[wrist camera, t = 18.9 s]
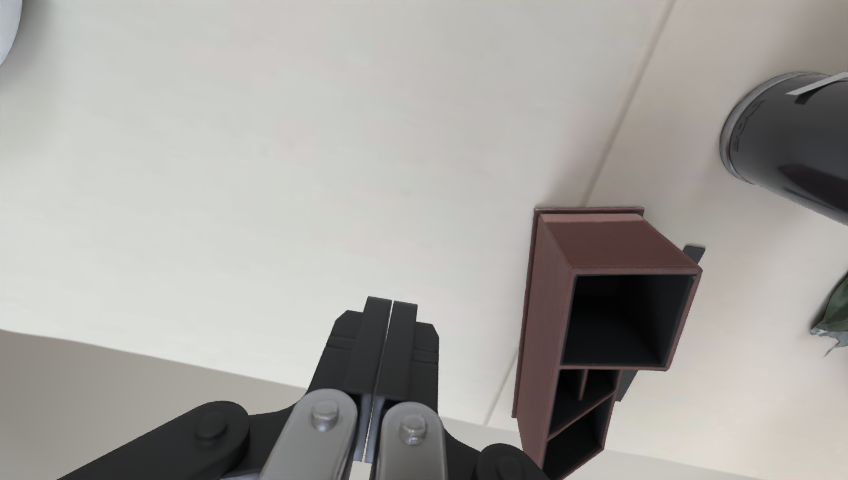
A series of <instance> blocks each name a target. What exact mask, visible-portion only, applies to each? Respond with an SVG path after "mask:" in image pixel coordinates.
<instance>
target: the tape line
mask: <svg viewBox="0 0 848 480" xmlns="http://www.w3.org/2000/svg"><path fill="white" fill-rule="evenodd" d="M682 252H684V253H685V254H686V255H687V256H688V257H689V258H691V259H692V260H693V261H694V262H695V263H696V264H698V262H699V261H700V259H701V257H702V255H703V254H704V252H705V249H703V248H697V247H692V246H685V248H684V250H683V251H682ZM637 372H638V370H623V373H622V377H621V380H620V384H619V388H618V391H617V395H616V399H615V401H619V402H621V400H622V398H623V397H624V395H625V393H626V391H627V389H628V388H629V386H630V384H631V382H632V380H633V379H634V377H635V375H636V373H637Z"/></svg>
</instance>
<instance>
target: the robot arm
mask: <svg viewBox="0 0 848 480" xmlns="http://www.w3.org/2000/svg"><path fill="white" fill-rule="evenodd" d="M847 76H848V72H846V71H845V72H842V73H839V74H837V75H834V76H830V75H825V74H820V73H809V72H796V73H789V74H785V75H781V76H778V77H776V78H773V79H771V80H769V81H767V82H765V83H763V84H762V85H760V86H758V87H757V88H756V89H754V90H753V91H752V92H750V93H749V94H748V95H747V96H746V97H745V98H744V99H743V100H742V101H741V102H740V103H739V104H738V105H737V106H736V108H735V109H734V110H733V112H732V113H731V115H730V116H729V118H728V120H727V122H726V124H725V126H724V129H723V132H722V136H721V142H720V152H721V157H722V160H723V163H724V165H725V166H726V168H727V169H728V171H729V172H730V173H731V174H733V175H734V176H735V177H737V178H739V179H741V180H743V181H746V182H748V183H750V184H754V185H758V186H760V187H762V188H764V189H767V190H769V191H771V192H773V193H775V194H777V195H779V196H782V197H784V198H786V199H788V200H790V201H793V202H795V203H797V204H799V205H802V206H804V207H806V208H808V209H811V210H813V211H815V212H817V213H820V214H822V215H824V216H826V217H828V218H831V219H833V220H835V221H837V222H840V223H842V224H844V225H846V226H848V77H847ZM391 305H392V300H389V299H383V298H377V297H371V296H368V298H367V301H366V304H365V308H364V311H363V313H362V312H356V311H350V310H347V311H346V312H344V313H343V314H342V315H341V316H340V317H339V318H338V319H336V321H335V323H334V326H333V328H332V331H331V334H330V336H329V338H328V341H327V343H326V347H325V348H324V351H323V353H322V356H321V358H320V361H319V363H318V366H317V368H316V371H315V373H314V376H313V378H312V381H311V383H310V386H309V388H308V390H307V392H306V393H305V395H304V396H303V397H302V398H301V399H300V400H299V401H298V402H296V403H295V404H293V405H292V406H290V407H288V408H286V409H283V410H280V411H277V412H271V413H264V414H256V415H248V413H247V412H246V410H245V409H244V408H243V407H242V406H240V405H239V404H236V403H234V402H230V401H215V402H209V403H206V404H203V405H201V406H198V407H196V408H194V409H192V410H190V411H189V412H187V413H185V414H183V415H181V416H179V417H177V418H175V419H173V420H171V421H169V422H167V423H165V424H164V425H162V426H160V427H158V428H156V429H154V430H152V431H150V432H148V433H146V434H144V435H142V436H140V437H138V438H137V439H135V440H133V441H131V442H129V443H127V444H125V445H123V446H121V447H119V448H117V449H115V450H113V451H112V452H109V453H107V454H106V455H104V456H102V457H100V458H98V459H96V460H94V461H92V462H90V463H88V464H86V465H84V466H82V467H80V468H79V469H77V470H75V471H73V472H71V473H69V474H67V475H65V476H63V477H61V478H59V479H57V480H349V476H350V472H351V467H352V463H353V461H360V462H361V461H362V458H363V453H364V448H365V443H366V438H367V433H368V428H369V423H370V418H371V413H372V418H371V423H370V430H369V436H368V442H367V449H366V455H365V463H371V464H372V466H371V472H370V478H369V480H550V479H549V478H548V477H547V476H546V474H545V473H544V472H543V471H542V470H541V469H540V468H539V467H538V466H537V464H536V463H535V462H534V461H533V460H532V459H531V458H530V457H529V456H528V455H527V454H526V453H524V452H523V451H522V450H520V449H518V448H516V447H514V446H512V445H508V444H503V443H498V444H492V445H489V446H487V447H486V448H484V449H483V450H482V451H481V452H480V451H478V450H476V449H474V448H472V447H469V446H467V445H465V444H463V443H461V442H459V441H458V440H456V439H455V438H454V437H452V436H451V435H450V434H449V433H448V432H447V431H446V429H445V428H444V426H443V423H442V421H441V419H440V417H439V416H438V362H439V354H438V352H439V336H438V334H437V332H436V330H435V328H434V326H433V325H432V324H428V323H422V322H416V316H417V307H418V304H412V303H406V302H400V301H394V303H393V308H392V313H391V318H390V323H389V317H390V311H391ZM388 323H389V328H388ZM387 330H388V333H387ZM386 336H387V338H386ZM385 342H386V343H385ZM373 403H374V404H373ZM372 408H373V410H372Z"/></svg>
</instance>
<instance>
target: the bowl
mask: <svg viewBox="0 0 848 480" xmlns="http://www.w3.org/2000/svg"><path fill="white" fill-rule="evenodd" d="M21 10H22V0H0V65H1V64H2V63H3V61H4V59H5V58H6V56H7V55H8V53H9V51H10V49H11V47H12V44H13V42H14V39H15V36H16V33H17V30H18V26H19V22H20V17H21Z"/></svg>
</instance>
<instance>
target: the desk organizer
mask: <svg viewBox="0 0 848 480" xmlns="http://www.w3.org/2000/svg"><path fill="white" fill-rule="evenodd" d="M643 212H644V208H643V207H640V208H637V207H630V208H550V209H547V208H542V209H537V208H534V219H533V228H532V237H531V246H530V255H529V264H528V272H527V282H526V291H525V300H524V310H523V320H522V329H521V338H520V347H519V356H518V365H517V374H516V383H515V392H514V402H513V411H512V416H511V417H512V418H517V421H518V427H519V432H520V437H521V442H522V448H523V452H524V453H526V454H527V455H528V456H529V457H530V458H531V459H532V460H533V461H534V462H535V463H536V464H537V466H538V467H539V468H540V469H541V470H542V471H543V472H544V473H545V474H546V476H547V477H548V478H549V479H550V480H563V479H565V478H566V477H567V476H569V475H570V474H571V473H573V472H574V471H575V470H576V469H578V468H579V467H581V466H582V465H584V464H585V463H586V462H588V461H589V460H590V459H592V458H593V457H595V456H596V455H597V454H599V453H600V452H601V451H603V450H604V446H605V440H606V436H607V431H608V427H609V423H610V419H611V415H612V410H613V406H614V403H615V399H616V395H617V391H618V388H619V384H620V380H621V377H622V373H623V370H654V371H667V370H668V369H669V368H670V365H671V363H672V360H673V357H674V354H675V351H676V348H677V345H678V342H679V339H680V336H681V334H682V331H683V328H684V325H685V322H686V319H687V316H688V313H689V310H690V307H691V304H692V302H693V299H694V296H695V293H696V290H697V287H698V284H699V282H700V278H701V274H702V272H703V270H702V268H701V267H700V266H699V265H698V264H696V263H695V262H694V261H693V260H692V259H691V258H689V257H688V256H687V255H686V254H685V253H684V252H682V251H681V250H680V249H679V248H678V247H676V246H675V245H674V244H673V243H672V242H670V241H669V240H668V239H667V238H665V237H664V236H663V235H662V234H661V233H659V232H658V231H657V230H656V229H655V228H653V227H652V226H651V225H650V224H649V223H648V222H647V221H646V220H645V219H644V218H643V217H642V216H643Z"/></svg>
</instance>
